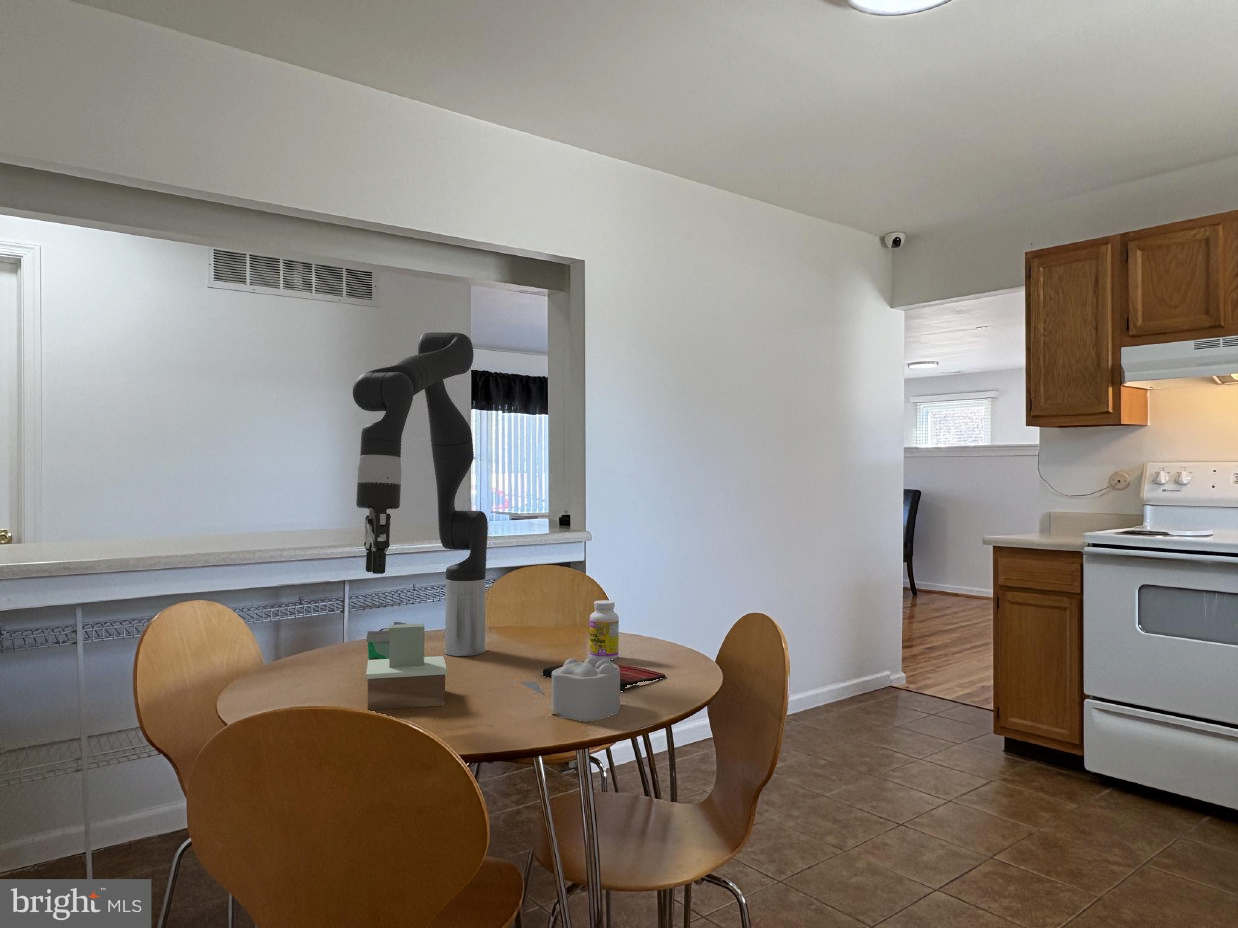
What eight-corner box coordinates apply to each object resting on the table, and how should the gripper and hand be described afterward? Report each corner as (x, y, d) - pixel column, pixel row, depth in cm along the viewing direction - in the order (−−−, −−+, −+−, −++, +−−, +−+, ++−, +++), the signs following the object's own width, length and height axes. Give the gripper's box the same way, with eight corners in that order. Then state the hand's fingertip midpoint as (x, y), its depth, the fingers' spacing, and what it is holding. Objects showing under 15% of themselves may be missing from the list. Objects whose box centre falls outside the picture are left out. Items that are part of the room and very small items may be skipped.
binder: (624, 682, 155) (541, 667, 167) (623, 695, 154) (541, 679, 167) (669, 670, 167) (590, 657, 180) (669, 682, 167) (590, 668, 180)
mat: (464, 687, 157) (464, 685, 157) (535, 683, 161) (535, 681, 161) (470, 706, 144) (470, 704, 144) (548, 701, 148) (548, 699, 148)
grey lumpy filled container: (543, 714, 140) (543, 663, 140) (585, 697, 151) (585, 650, 151) (593, 723, 134) (594, 671, 135) (633, 705, 145) (633, 657, 146)
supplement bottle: (583, 658, 184) (583, 601, 185) (603, 653, 189) (603, 598, 190) (604, 662, 180) (604, 604, 180) (624, 658, 185) (624, 601, 185)
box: (369, 698, 149) (369, 664, 149) (441, 693, 153) (441, 660, 153) (367, 714, 139) (367, 678, 139) (444, 709, 142) (445, 673, 142)
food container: (394, 683, 161) (394, 632, 161) (365, 681, 162) (366, 631, 162) (421, 669, 173) (421, 622, 173) (394, 667, 174) (395, 621, 174)
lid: (367, 669, 150) (368, 621, 150) (443, 665, 153) (443, 618, 154) (365, 684, 138) (366, 633, 139) (447, 679, 142) (447, 629, 142)
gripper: (407, 480, 141) (403, 574, 139) (394, 485, 154) (390, 571, 152) (362, 478, 138) (357, 574, 136) (353, 483, 151) (348, 571, 149)
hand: (375, 572), depth 144 cm, fingers open, 8 cm apart
